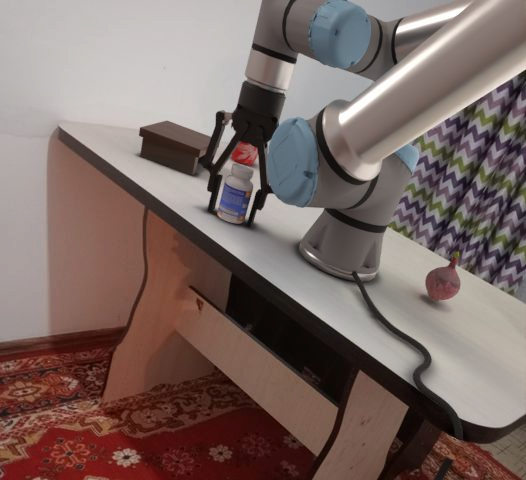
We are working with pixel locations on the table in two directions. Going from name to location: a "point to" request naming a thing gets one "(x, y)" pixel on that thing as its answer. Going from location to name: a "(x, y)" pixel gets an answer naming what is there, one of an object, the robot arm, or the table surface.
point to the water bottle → (244, 152)
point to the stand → (174, 146)
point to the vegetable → (443, 281)
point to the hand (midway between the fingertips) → (230, 216)
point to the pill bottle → (236, 194)
